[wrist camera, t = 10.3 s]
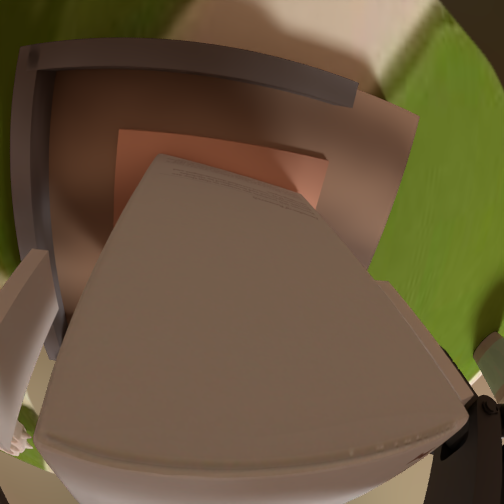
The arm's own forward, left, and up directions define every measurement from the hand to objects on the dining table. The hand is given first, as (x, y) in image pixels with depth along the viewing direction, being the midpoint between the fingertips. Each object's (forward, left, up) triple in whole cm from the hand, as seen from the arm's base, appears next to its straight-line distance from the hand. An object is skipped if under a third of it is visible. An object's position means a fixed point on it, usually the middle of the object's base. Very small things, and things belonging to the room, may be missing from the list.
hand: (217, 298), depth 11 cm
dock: (0, 0, -8) cm, 8 cm away
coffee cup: (-15, -45, -8) cm, 48 cm away
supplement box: (0, 0, -5) cm, 5 cm away
